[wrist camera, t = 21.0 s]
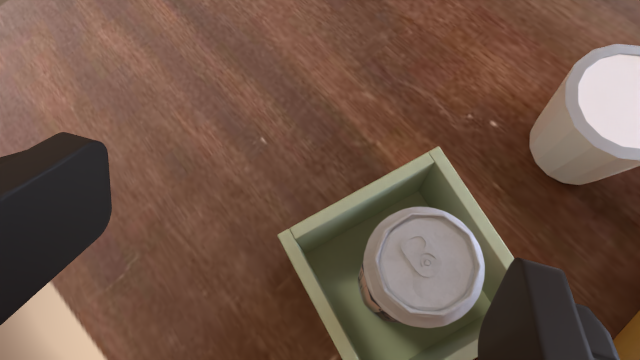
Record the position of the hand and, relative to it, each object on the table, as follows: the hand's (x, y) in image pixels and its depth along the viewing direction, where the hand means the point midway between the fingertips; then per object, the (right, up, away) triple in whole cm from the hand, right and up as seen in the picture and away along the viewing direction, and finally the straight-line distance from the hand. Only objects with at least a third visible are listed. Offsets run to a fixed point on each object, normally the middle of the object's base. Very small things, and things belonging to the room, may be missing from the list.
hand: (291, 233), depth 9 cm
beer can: (+5, -5, +20) cm, 22 cm away
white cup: (+18, +3, +23) cm, 29 cm away
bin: (+5, -5, +21) cm, 22 cm away
